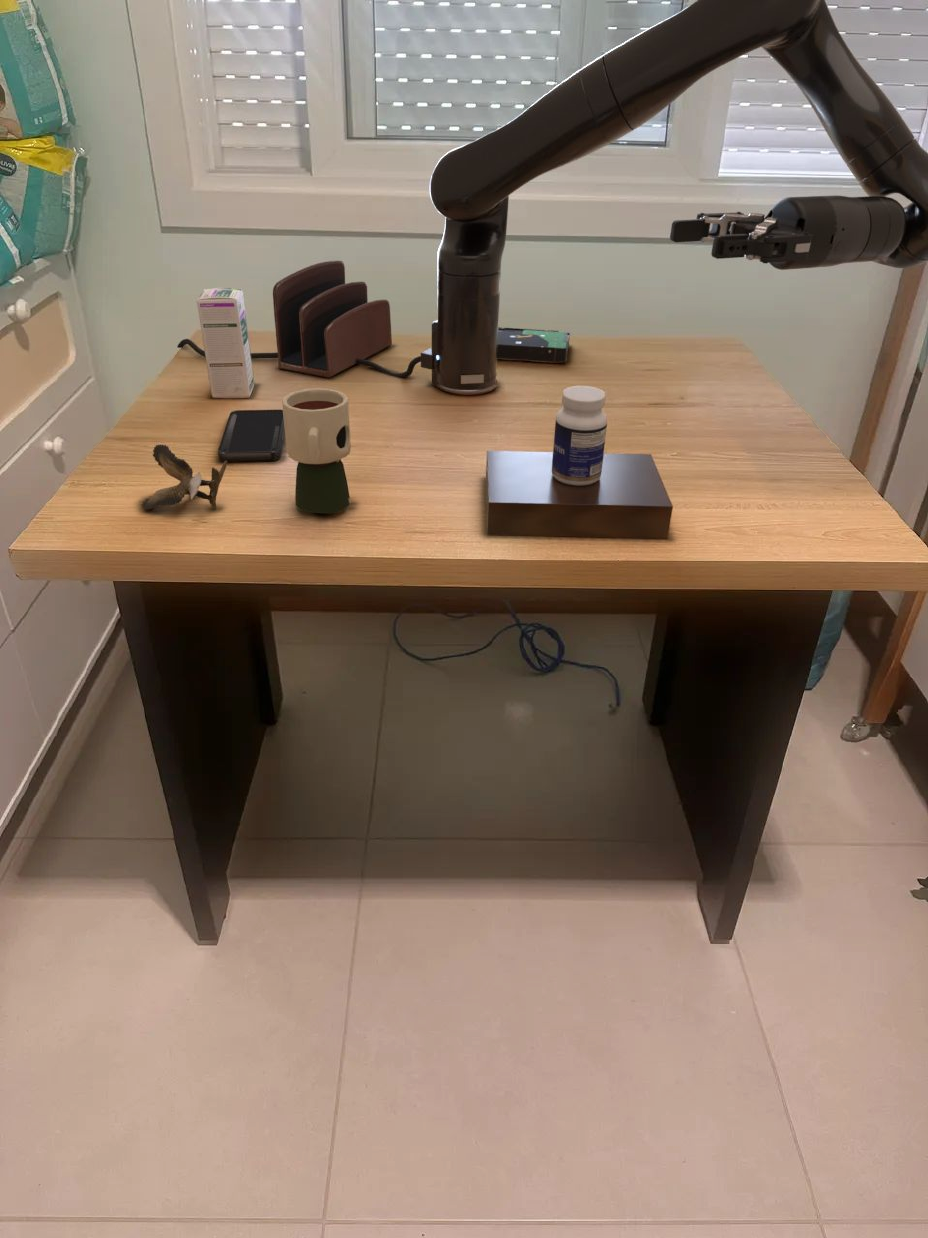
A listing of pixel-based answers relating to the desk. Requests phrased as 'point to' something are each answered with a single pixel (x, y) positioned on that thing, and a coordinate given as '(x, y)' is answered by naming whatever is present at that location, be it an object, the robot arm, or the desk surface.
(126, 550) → the desk surface
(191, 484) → the eagle figurine
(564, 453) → the pill bottle
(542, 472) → the walnut stand
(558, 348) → the disk drive
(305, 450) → the character mug
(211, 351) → the syrup box
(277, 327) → the letter holder
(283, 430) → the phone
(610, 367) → the desk surface
